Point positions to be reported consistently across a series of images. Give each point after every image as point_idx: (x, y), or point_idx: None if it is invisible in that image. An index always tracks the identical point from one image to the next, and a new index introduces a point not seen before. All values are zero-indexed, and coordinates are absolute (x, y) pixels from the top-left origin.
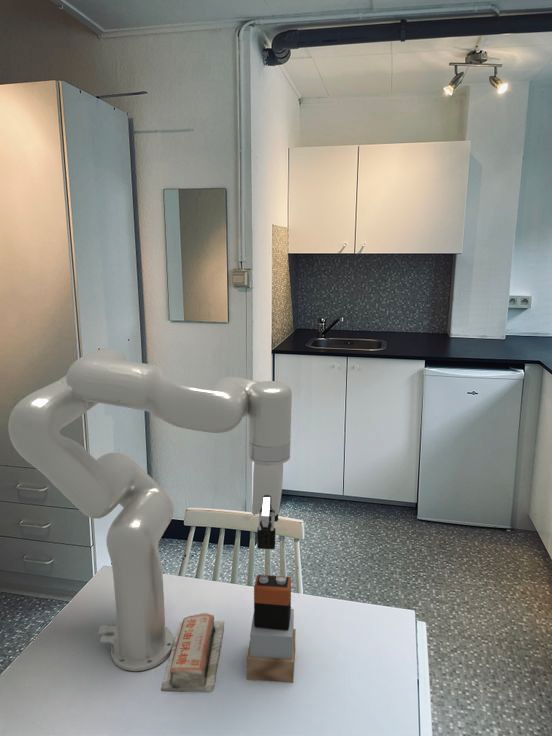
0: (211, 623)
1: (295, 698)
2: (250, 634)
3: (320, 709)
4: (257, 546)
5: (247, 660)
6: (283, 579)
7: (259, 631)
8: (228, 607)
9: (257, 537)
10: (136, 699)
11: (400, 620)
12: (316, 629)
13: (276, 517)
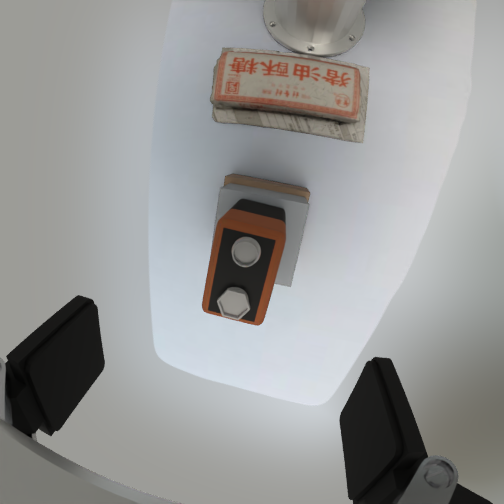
0: (334, 114)
1: (193, 243)
2: (220, 188)
3: (176, 272)
4: (75, 298)
5: (225, 177)
6: (234, 309)
7: (227, 208)
8: (405, 156)
9: (43, 324)
10: (212, 22)
11: (318, 399)
12: (326, 297)
13: (342, 432)
